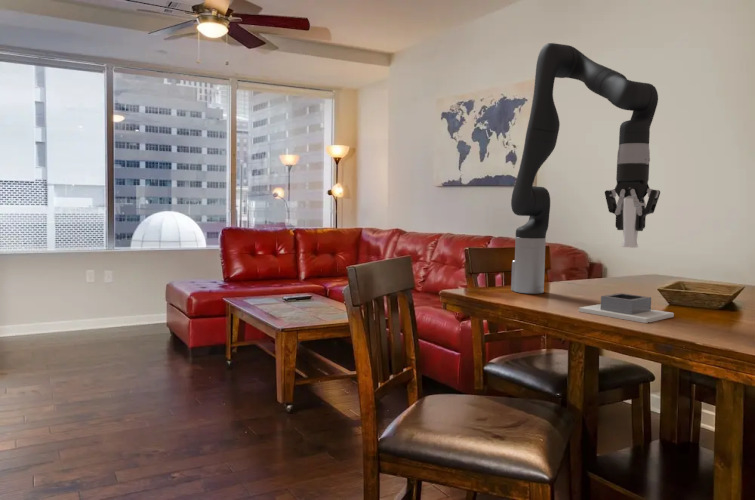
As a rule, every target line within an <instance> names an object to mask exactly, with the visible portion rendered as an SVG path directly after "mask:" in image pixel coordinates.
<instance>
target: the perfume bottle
mask: <svg viewBox="0 0 755 500" xmlns="http://www.w3.org/2000/svg"><path fill="white" fill-rule="evenodd" d="M640 203H641V202H640ZM637 216H638V214H637V210H636V207H635V206H634V202H633V198H632V196H627V197H625V198H624V200H623V230H622V233H623V235H622V236H623V237H622V238H623V241H622V244H621V247H622V248H633V249H635V248H639V246H638V245H639V244H638V234H639V233H638V232H639V231H636V219H637Z"/></svg>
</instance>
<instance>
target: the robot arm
mask: <svg viewBox="0 0 755 500" xmlns="http://www.w3.org/2000/svg"><path fill="white" fill-rule="evenodd" d="M535 67H536V68H535V77H534V85H533V86H534V87H533V96H532V103H531V109H530V114H529V118H528V123H527V128H526V134H525V139H524V145H523V151H522V156H521V160H520V165H519V169H518V172H517V176H516V179H515V182H514V187H513V190H512V194H511V200H510V206H511V209H512V213H513V214H514V215H516V216H520V217H529V218H528V220H527V222H526V223H525V224H524V225H521V226H519V227H518V228H516V229H515V245H514V260H512V262H511V280H510V281H511V283H510V290H511V291H513V292H515V293H521V294H531V295H532V294H543V293H544V289H545V288H544V287H545V267H546V266H545V265H546V263H545V261H546V240H547V239H546V238H547V237H546V236H547V231H548V228H549V223H550V214H551V213H550V211H551V195H550V192H549V191H548V189H547V188H546V187H545V186H533V185H534V183H535V179H536V177H537V173H538V171H540V168H541V167H542V166H543V164H544V163H545V162H546V160H548V158H549V157H550V156H551V155H552V154H553V152H554V150H555V147H556V145H557V141H558V136H559V133H560V132H559V130H560V125H561V123H560V118H559V114H558V111H557V108H556V105H555V100H554V84H555V79H556V78H559V79H565V78H566V79H572V80H573V79H574V80H577V81H580V82H583V84H584V85H585V86H586V88H588V89H589V90H590V92H592V93H594V94H596V95H598V96H600V97H602V98H604V99H606V100H607V101H608V102H609V103H610V104H612V105H613V106H615V107H616V108H619V109H621V110H624V111H632V115H631V117H630V119H629V120H625V121H623V122H622V123H621V124H620V126H619V137H618V150H617V159H616V178H615V179H616V186H615V187H614V189H610V190H609V189H608V190H607V189H606V190H605V191H604V196H605V201H606V205H607V209H608V212H609V213H611V214H614V215H615V225H614V226H615V228H616V230H617V231H623V200H624V198H625V197H627V196H632V198H633V202H634V206H635V207H636V210H637V214H638V216H637V219H636V231H638V232H643V230H644V229H645V228H646V217H647V215H650V214H654V212H655V210H656V207H657V204H658V201H659V198H660V195H661V190H659V189H653V188H650V186H649V179H650V161H651V158H650V157H651V156H650V153H651V152H650V151H651V150H650V134H651V133H650V131H651V130H650V129H651V125H652V122H653V120H654V117H655V114H656V111H657V107H658V103H659V94H658V90H657V88H656V86H654V85H653V84H651V83H648V82H641V81H633V80H629V79H628V78H627V77H626V76H625V75H624V74H622V73H620V72H619V71H616V70H614V69H612V68H609V67H607V66H604V65H602V64H599V63H597V62H595V61H594V60H592V59H590V57H588V56H587V55H585V54H584V53H582V52H581V51H580V50H578V49H577V48H576V47H574V46H572V45H567V44H562V43H556V42H550V43H546V44H544V45H543V46H542V48H541V49H540V51H539V52H538V56H537V60H536V66H535ZM617 196H618V199H617V201H616V198H617ZM646 196H647V197H648V198H647V202H646V201H645V197H646ZM640 202H641V203H640Z"/></svg>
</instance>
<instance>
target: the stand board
mask: <svg viewBox="0 0 755 500" xmlns="http://www.w3.org/2000/svg"><path fill="white" fill-rule="evenodd" d="M600 309H601V303H598V304H593V305H587V306H579V307H578V312H581V313H585V314H591V315H595V316H603V317H609V318H613V319H621V320H626V321H631V322H636V323H643V324H648V322H649V323H652V322H656V321H661V320H665V319H666V320H667V319H671V318H675V317H674V315H675V313H674V312H670V311H663V310H657V309H652V308H651V311H648V312H643V313H638V314H633V315H630V314H624V313H618V312H612V311H606V310H600Z"/></svg>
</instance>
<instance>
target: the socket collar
mask: <svg viewBox="0 0 755 500" xmlns="http://www.w3.org/2000/svg"><path fill="white" fill-rule="evenodd" d="M600 304H601V309H600V310H606V311H612V312H618V313H624V314H630V315H633V314H638V313H643V312H648V311H651V309H652V297H650V296H645V295H643V296H642V295H637V294H629V293H623V292H619V293H613V294H612V293H611V294H606V295H601V296H600Z"/></svg>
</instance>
